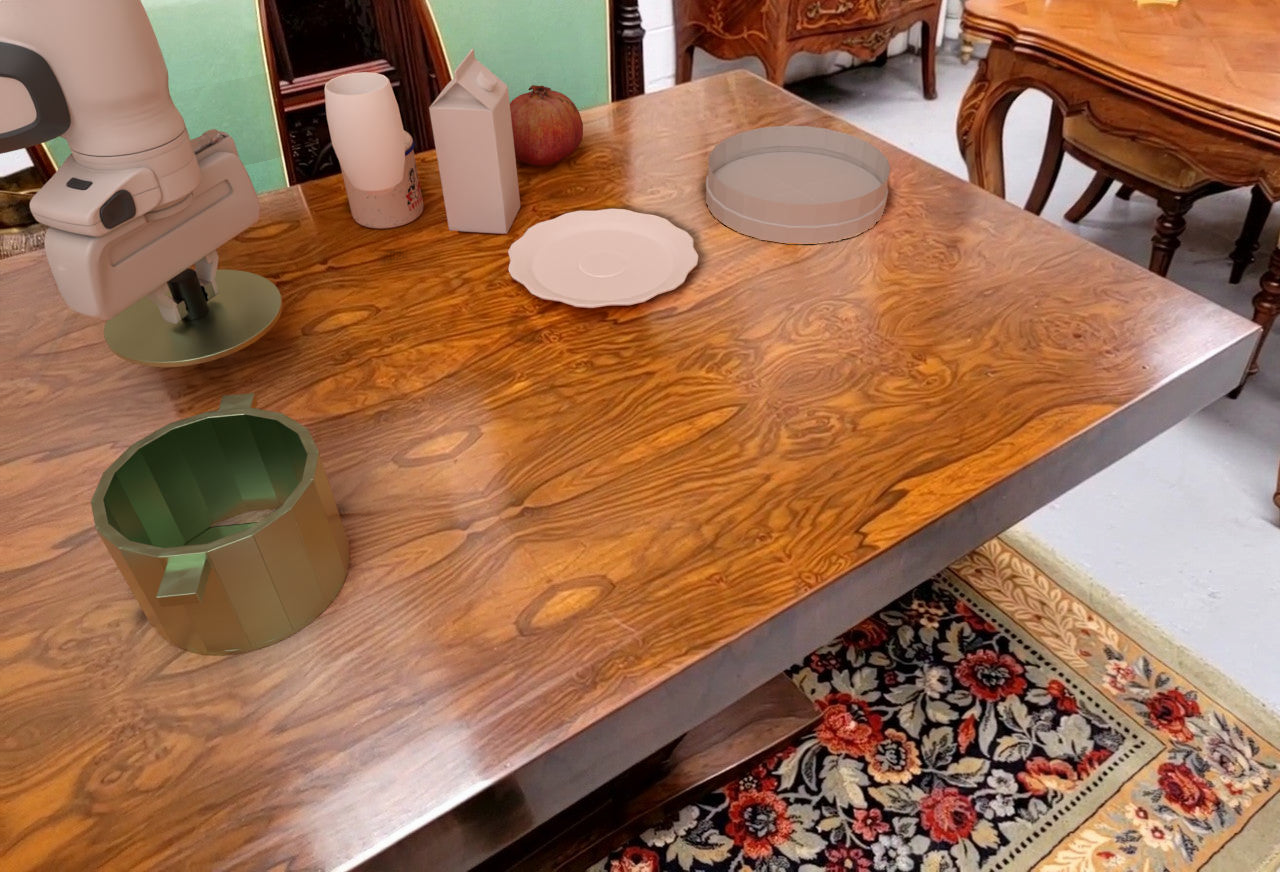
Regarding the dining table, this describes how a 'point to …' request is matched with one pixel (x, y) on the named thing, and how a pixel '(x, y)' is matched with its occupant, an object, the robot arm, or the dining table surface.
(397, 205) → the white printed cup
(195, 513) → the cooking pot
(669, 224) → the plate
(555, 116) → the fruit
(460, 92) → the milk carton
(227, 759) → the dining table surface
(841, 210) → the dish
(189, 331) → the pot lid
